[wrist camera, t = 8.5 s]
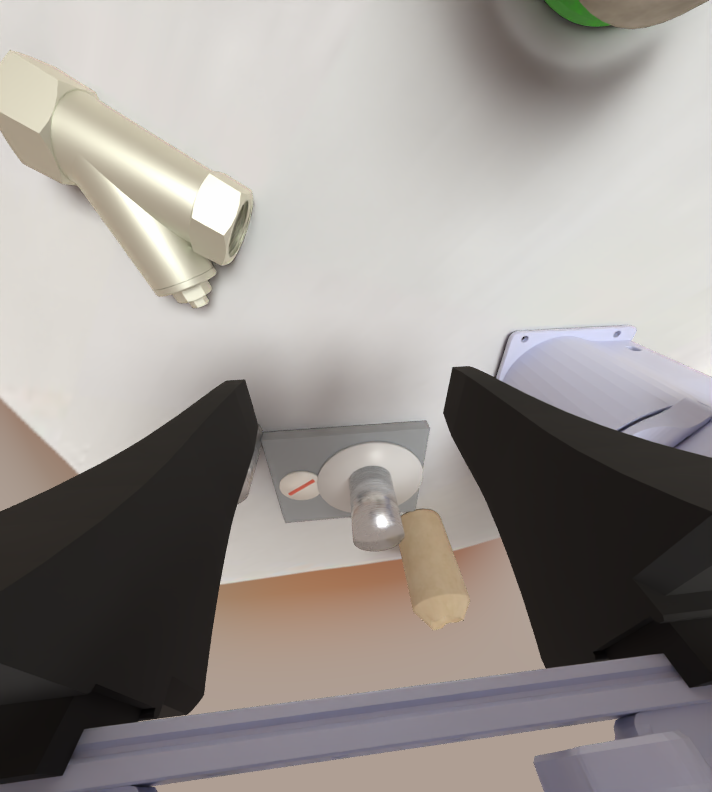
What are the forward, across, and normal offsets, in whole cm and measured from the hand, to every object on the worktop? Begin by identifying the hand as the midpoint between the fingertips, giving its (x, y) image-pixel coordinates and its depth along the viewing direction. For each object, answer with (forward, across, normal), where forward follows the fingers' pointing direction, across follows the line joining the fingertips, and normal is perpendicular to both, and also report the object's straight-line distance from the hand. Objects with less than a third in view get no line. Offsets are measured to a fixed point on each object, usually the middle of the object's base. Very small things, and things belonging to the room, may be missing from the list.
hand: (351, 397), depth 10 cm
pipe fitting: (+10, +9, -5) cm, 15 cm away
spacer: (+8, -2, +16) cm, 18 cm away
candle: (+10, -8, +26) cm, 29 cm away
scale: (+10, 0, +16) cm, 19 cm away
